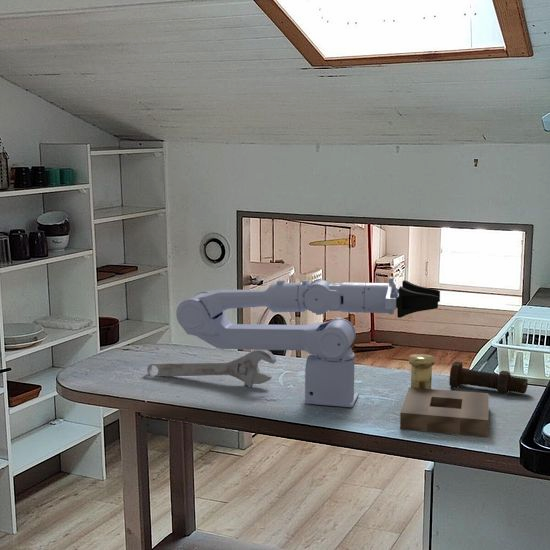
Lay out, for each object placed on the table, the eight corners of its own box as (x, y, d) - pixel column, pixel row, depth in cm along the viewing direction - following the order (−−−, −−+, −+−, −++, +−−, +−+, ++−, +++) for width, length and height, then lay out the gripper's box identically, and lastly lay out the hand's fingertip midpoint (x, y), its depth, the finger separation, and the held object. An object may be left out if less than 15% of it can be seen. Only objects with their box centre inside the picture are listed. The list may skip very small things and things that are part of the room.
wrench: (153, 386, 175) (279, 385, 163) (149, 389, 173) (276, 388, 162) (148, 351, 174) (274, 347, 162) (144, 353, 172) (271, 349, 161)
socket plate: (400, 428, 140) (400, 412, 140) (408, 402, 154) (408, 387, 154) (487, 436, 136) (488, 420, 136) (487, 408, 150) (488, 393, 150)
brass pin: (407, 398, 156) (407, 359, 155) (409, 391, 161) (410, 353, 160) (432, 400, 155) (433, 361, 154) (434, 393, 160) (435, 354, 158)
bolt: (524, 405, 158) (450, 392, 165) (529, 387, 162) (456, 375, 168) (524, 385, 155) (448, 373, 161) (528, 367, 158) (454, 356, 165)
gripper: (360, 281, 143) (437, 282, 140) (371, 272, 157) (440, 273, 154) (360, 319, 144) (436, 322, 141) (371, 307, 158) (440, 309, 155)
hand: (439, 299), depth 147 cm, fingers open, 7 cm apart
